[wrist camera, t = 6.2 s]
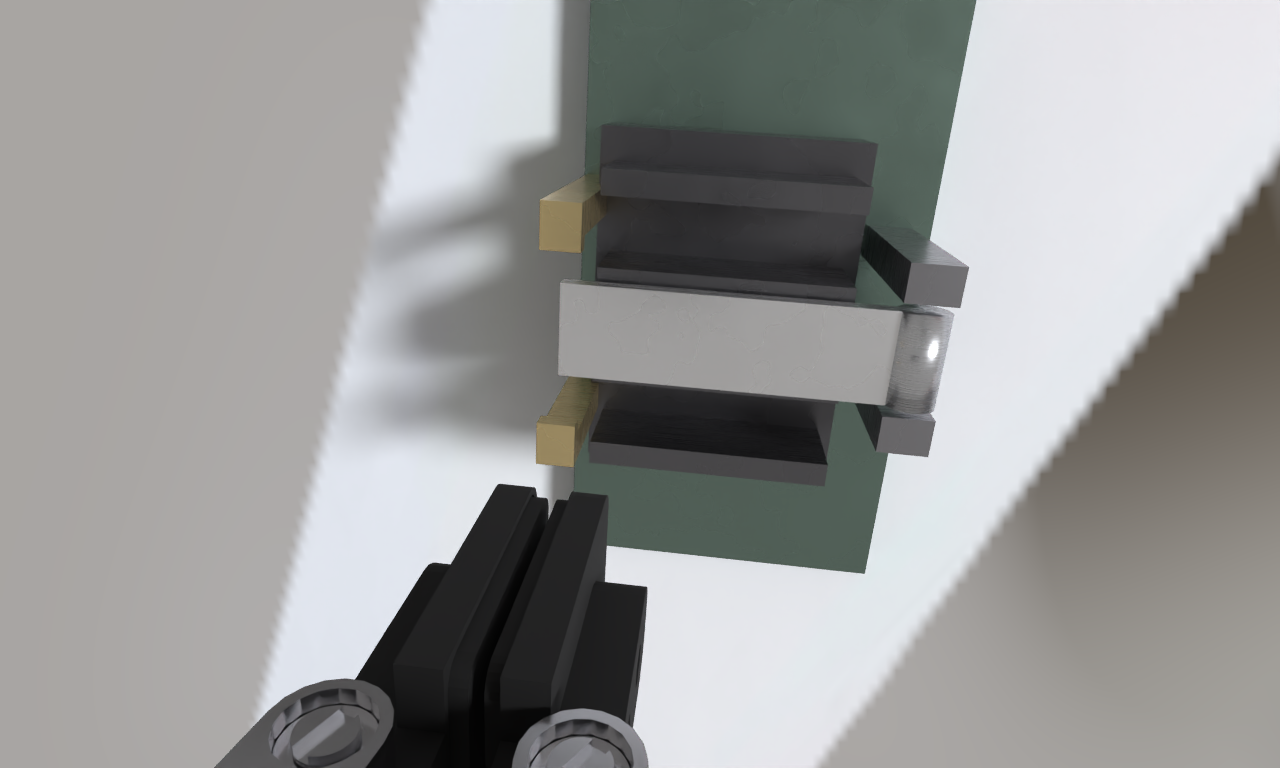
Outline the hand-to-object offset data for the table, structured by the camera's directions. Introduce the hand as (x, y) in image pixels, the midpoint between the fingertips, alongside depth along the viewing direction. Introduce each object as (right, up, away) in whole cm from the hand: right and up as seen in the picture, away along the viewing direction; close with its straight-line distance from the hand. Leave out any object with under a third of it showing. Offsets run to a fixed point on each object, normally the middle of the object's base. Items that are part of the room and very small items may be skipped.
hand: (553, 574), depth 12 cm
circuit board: (+6, +7, +19) cm, 21 cm away
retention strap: (+5, +4, +13) cm, 14 cm away
